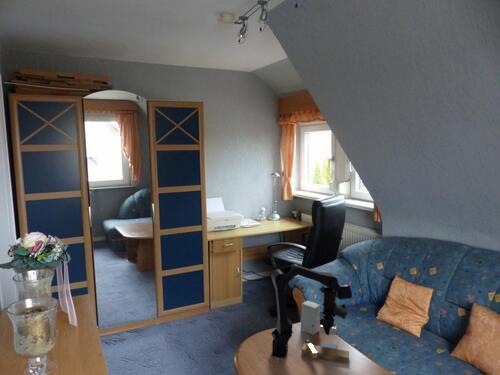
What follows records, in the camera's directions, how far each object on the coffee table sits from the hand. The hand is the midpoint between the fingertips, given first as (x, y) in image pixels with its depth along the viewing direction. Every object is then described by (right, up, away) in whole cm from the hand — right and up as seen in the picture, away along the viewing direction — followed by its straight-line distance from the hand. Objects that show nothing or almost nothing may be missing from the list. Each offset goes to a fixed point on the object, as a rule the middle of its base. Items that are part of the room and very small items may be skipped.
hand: (328, 331), depth 177 cm
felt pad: (0, -8, +1) cm, 8 cm away
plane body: (-3, -9, -6) cm, 11 cm away
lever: (-10, -6, -8) cm, 14 cm away
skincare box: (-6, -7, +17) cm, 19 cm away
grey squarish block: (0, 0, 0) cm, 1 cm away
